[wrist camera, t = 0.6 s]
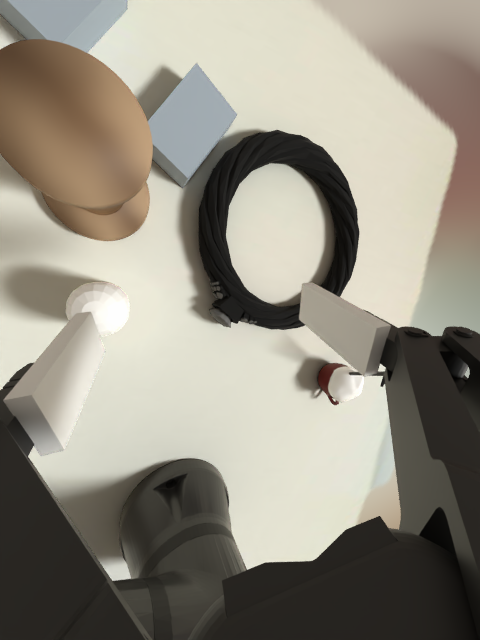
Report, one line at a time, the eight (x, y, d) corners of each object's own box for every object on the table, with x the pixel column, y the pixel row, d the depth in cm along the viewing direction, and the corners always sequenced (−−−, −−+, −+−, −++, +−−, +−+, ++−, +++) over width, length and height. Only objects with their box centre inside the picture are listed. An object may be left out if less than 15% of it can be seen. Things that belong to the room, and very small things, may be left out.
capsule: (81, 329, 27) (63, 347, 20) (73, 282, 26) (51, 283, 19) (132, 324, 29) (132, 338, 22) (127, 280, 28) (125, 280, 21)
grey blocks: (182, 188, 29) (187, 178, 26) (-6, 8, 20) (-27, -34, 18) (227, 129, 30) (237, 114, 27) (67, -64, 22) (58, -113, 19)
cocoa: (326, 398, 46) (386, 437, 35) (304, 391, 43) (363, 432, 32) (346, 354, 46) (412, 380, 35) (326, 344, 43) (392, 369, 32)
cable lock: (386, 244, 41) (284, 380, 36) (367, 247, 44) (270, 371, 39) (302, 75, 30) (133, 238, 24) (284, 97, 33) (133, 244, 28)
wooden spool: (115, 259, 27) (104, 244, 16) (17, 192, 23) (-85, 111, 12) (166, 194, 28) (187, 140, 17) (82, 118, 24) (43, -15, 13)
